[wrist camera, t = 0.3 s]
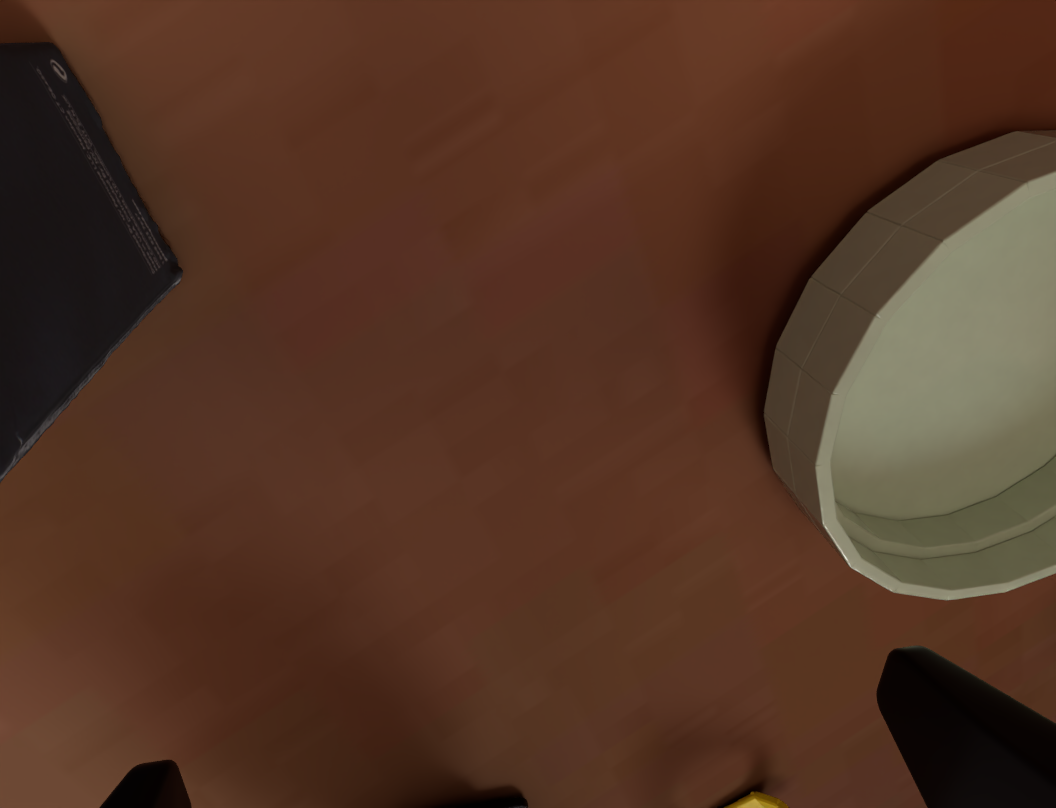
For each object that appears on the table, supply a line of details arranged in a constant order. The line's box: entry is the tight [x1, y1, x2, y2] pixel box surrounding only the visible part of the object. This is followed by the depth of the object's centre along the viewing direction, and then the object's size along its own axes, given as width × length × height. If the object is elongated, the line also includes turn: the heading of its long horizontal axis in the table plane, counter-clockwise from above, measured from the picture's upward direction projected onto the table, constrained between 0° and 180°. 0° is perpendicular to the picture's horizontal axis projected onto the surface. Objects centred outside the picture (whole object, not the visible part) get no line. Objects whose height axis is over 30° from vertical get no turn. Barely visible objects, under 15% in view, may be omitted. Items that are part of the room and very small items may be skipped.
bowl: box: [764, 130, 1056, 600], centre depth 24 cm, size 15×15×4 cm
